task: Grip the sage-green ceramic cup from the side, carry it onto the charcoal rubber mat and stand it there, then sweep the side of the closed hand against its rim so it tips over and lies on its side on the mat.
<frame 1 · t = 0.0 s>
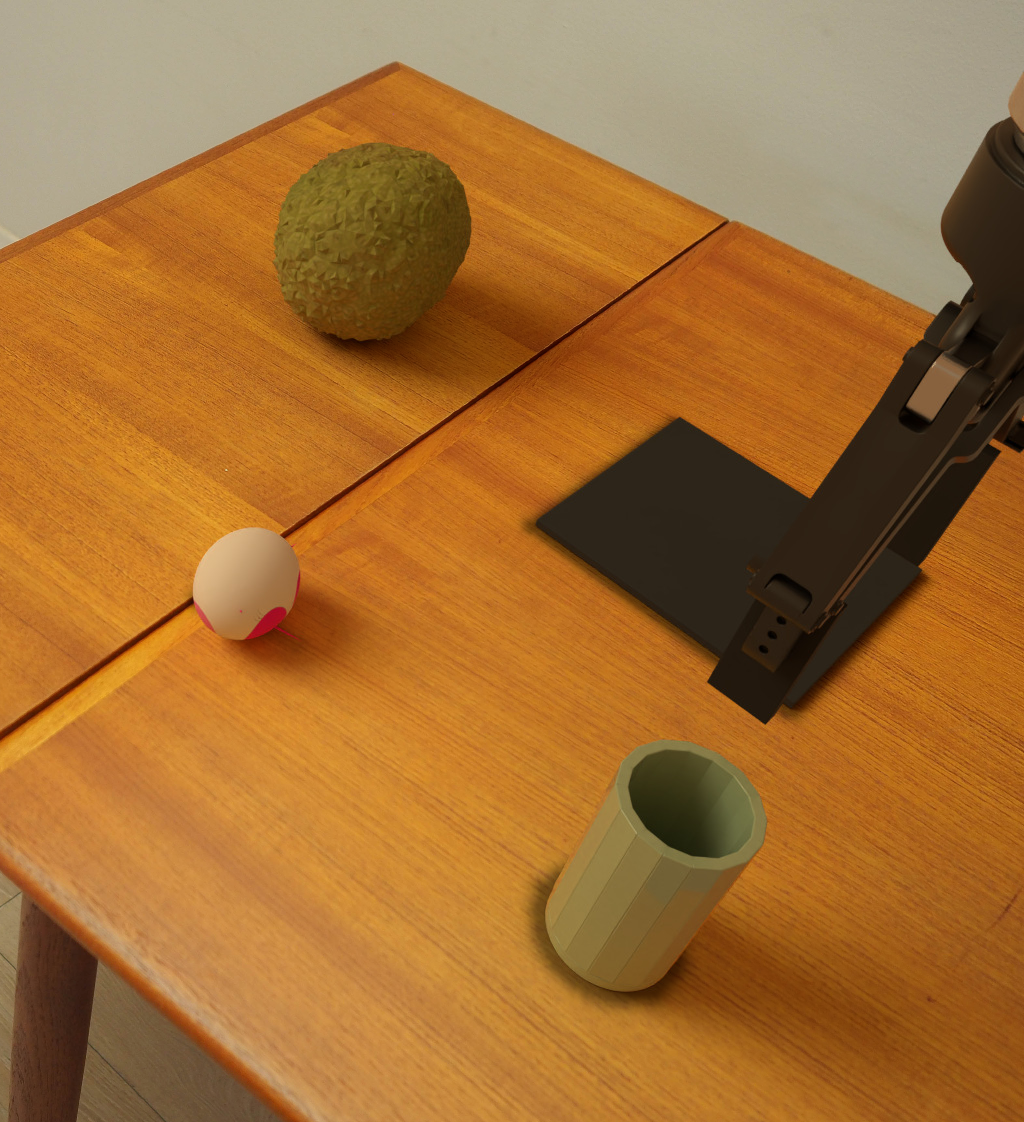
hand: (822, 617, 54), 21 cm above the table, tool pointing down, fingers open, 13 cm apart
mat: (728, 550, 87), on the table
cup: (609, 929, 66), on the table
fruit: (357, 314, 101), on the table
stress ball: (250, 621, 78), on the table
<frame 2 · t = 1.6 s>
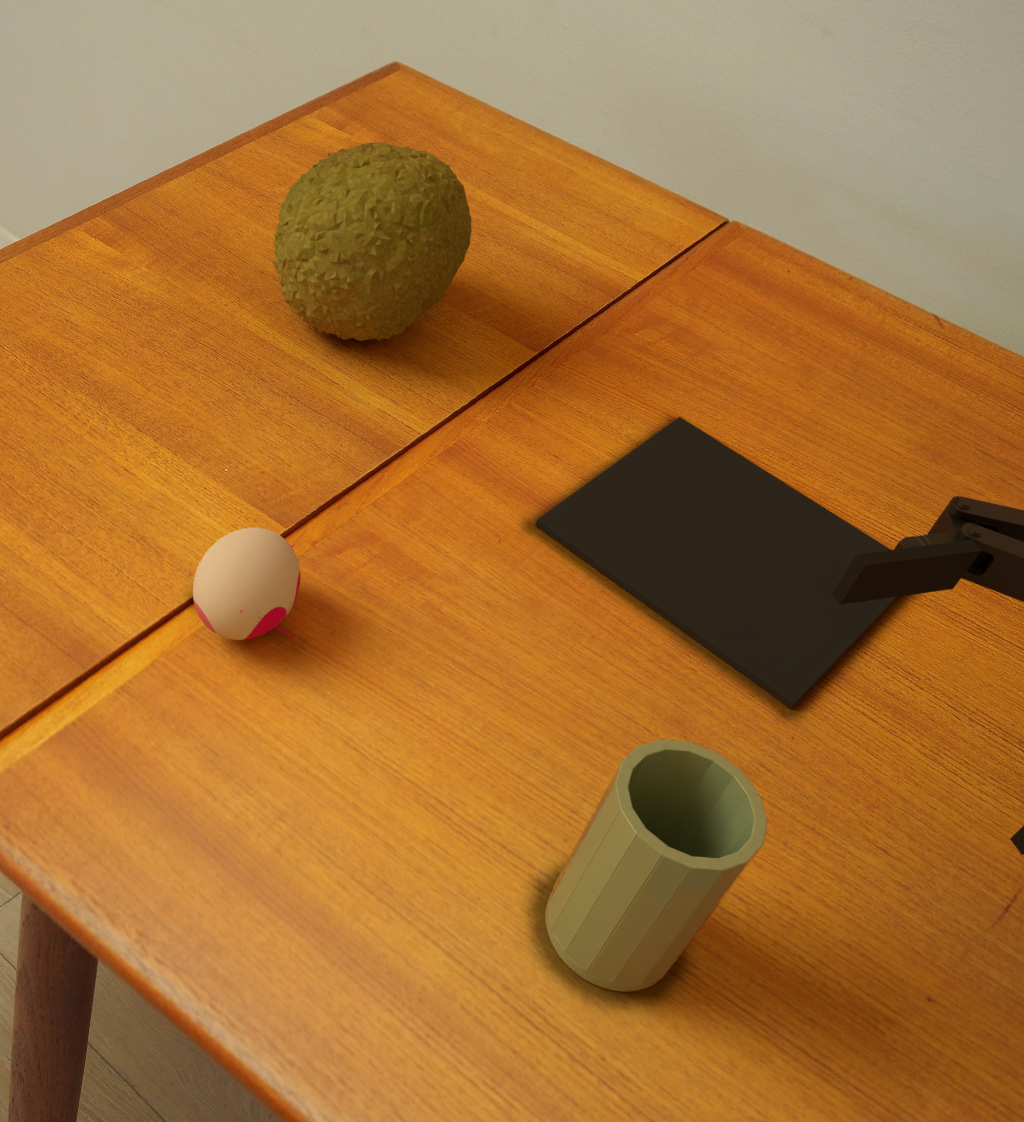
hand: (932, 694, 55), 18 cm above the table, tool horizontal, fingers open, 13 cm apart
nothing on the table moved.
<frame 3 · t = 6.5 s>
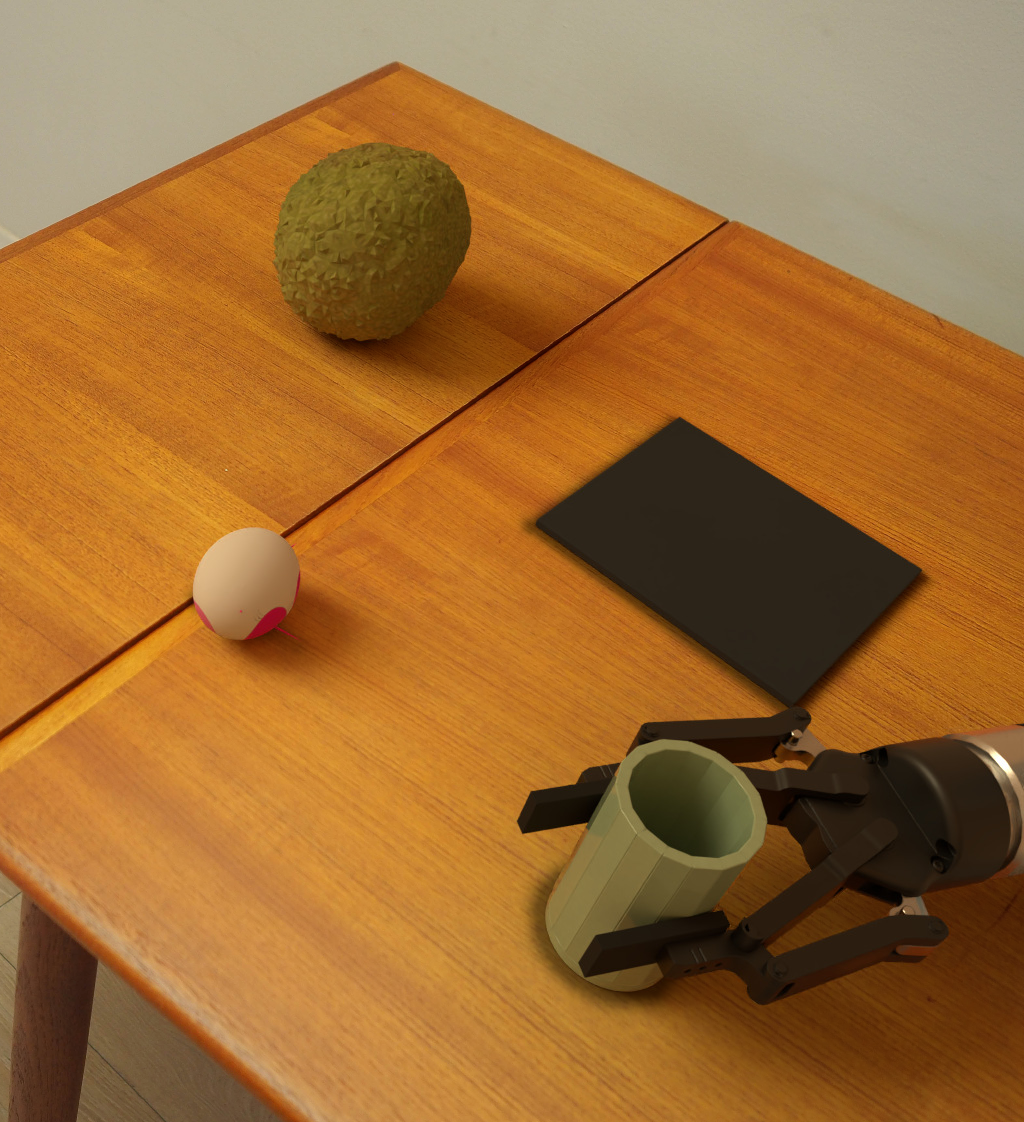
hand: (557, 881, 60), 7 cm above the table, tool horizontal, fingers closed on cup, 7 cm apart
cup: (609, 929, 66), on the table, touching gripper
everything else where it was.
when the fingers open (7 cm above the table, at t = 16.1 s): cup stays where it is, resting on mat.
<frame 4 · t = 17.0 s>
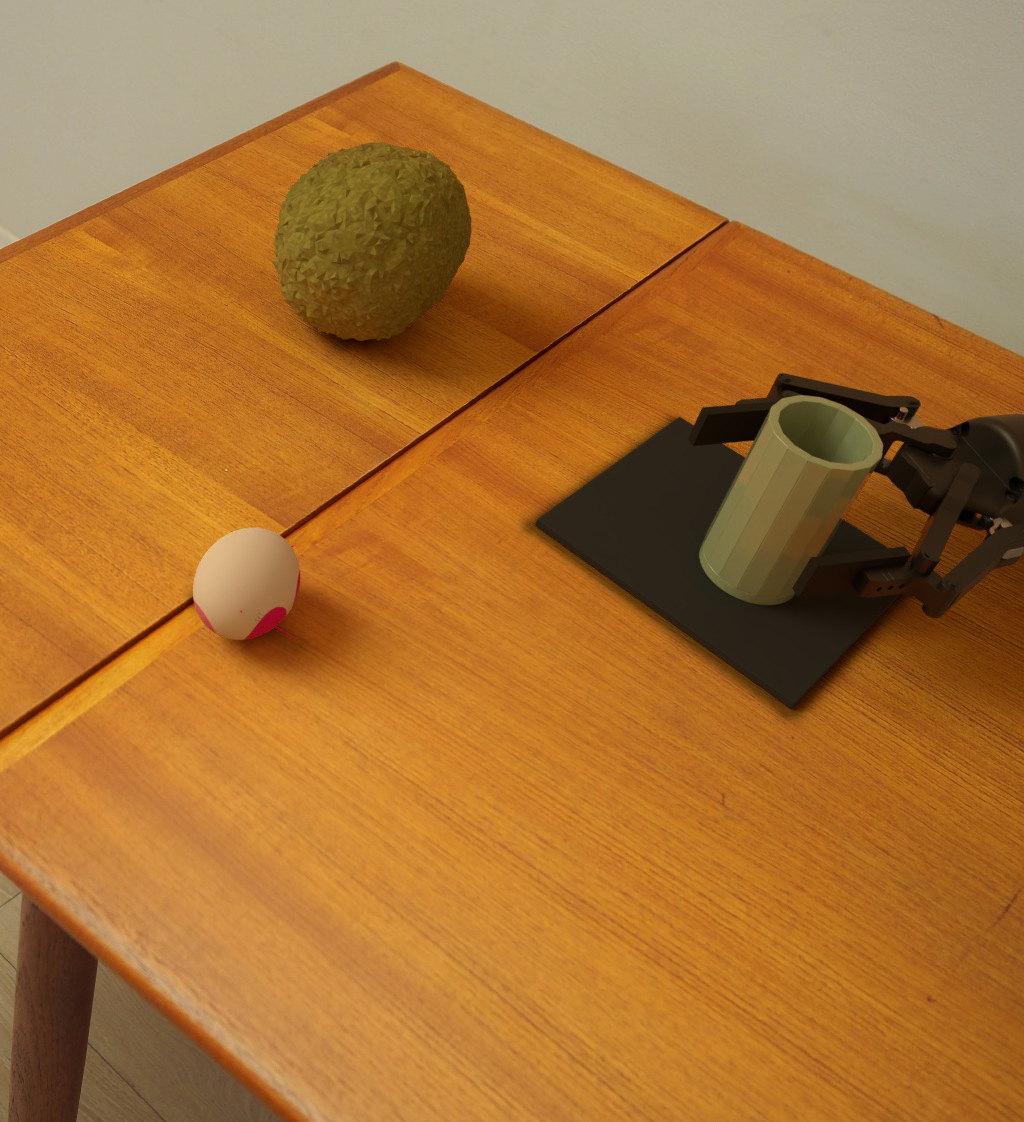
hand: (747, 498, 79), 8 cm above the table, tool horizontal, fingers open, 13 cm apart
cup: (749, 567, 85), point 1 cm above the table, touching mat
everything else where it was.
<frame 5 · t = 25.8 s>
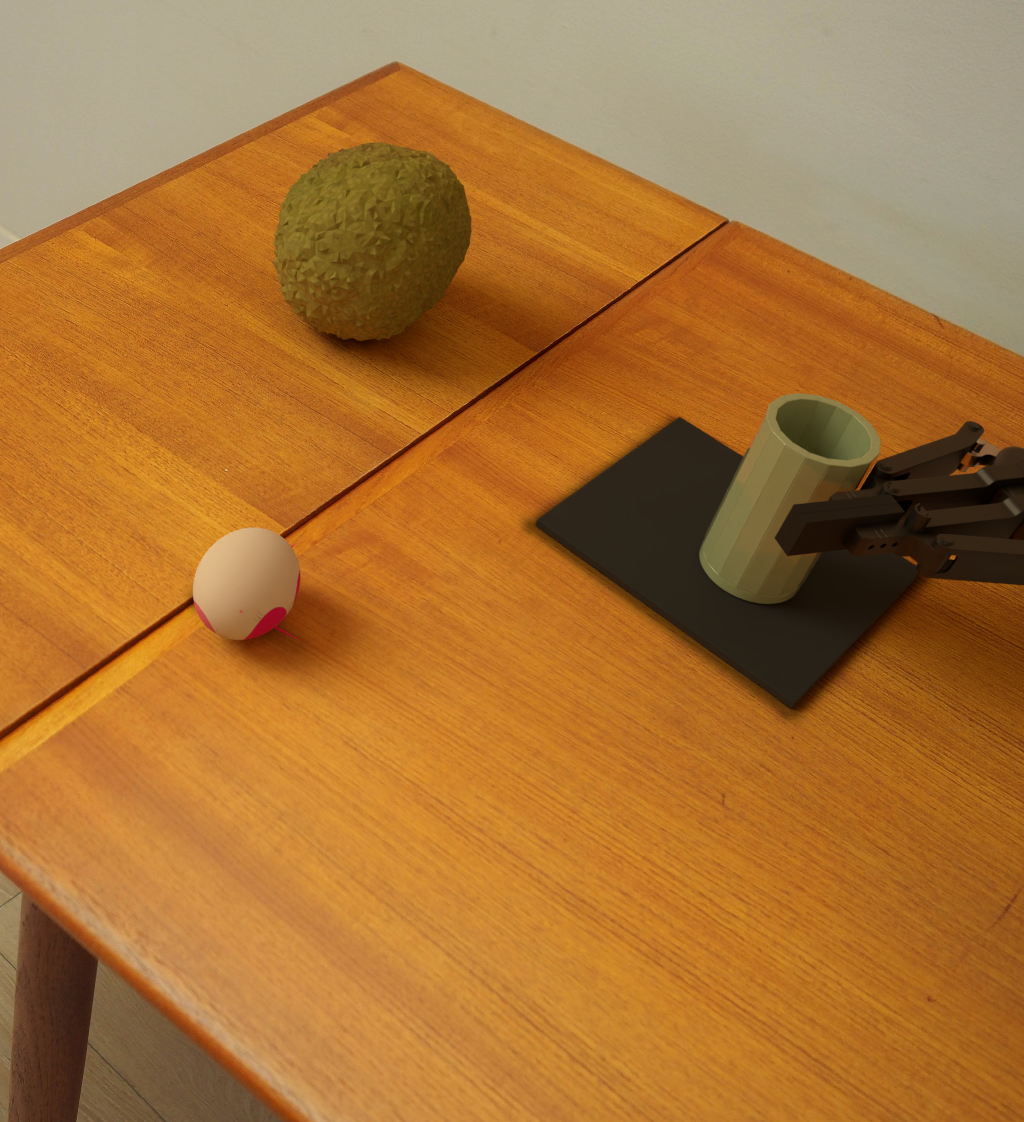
hand: (790, 530, 72), 11 cm above the table, tool horizontal, fingers closed
cup: (749, 566, 85), point 1 cm above the table, touching gripper, mat
everything else where it was.
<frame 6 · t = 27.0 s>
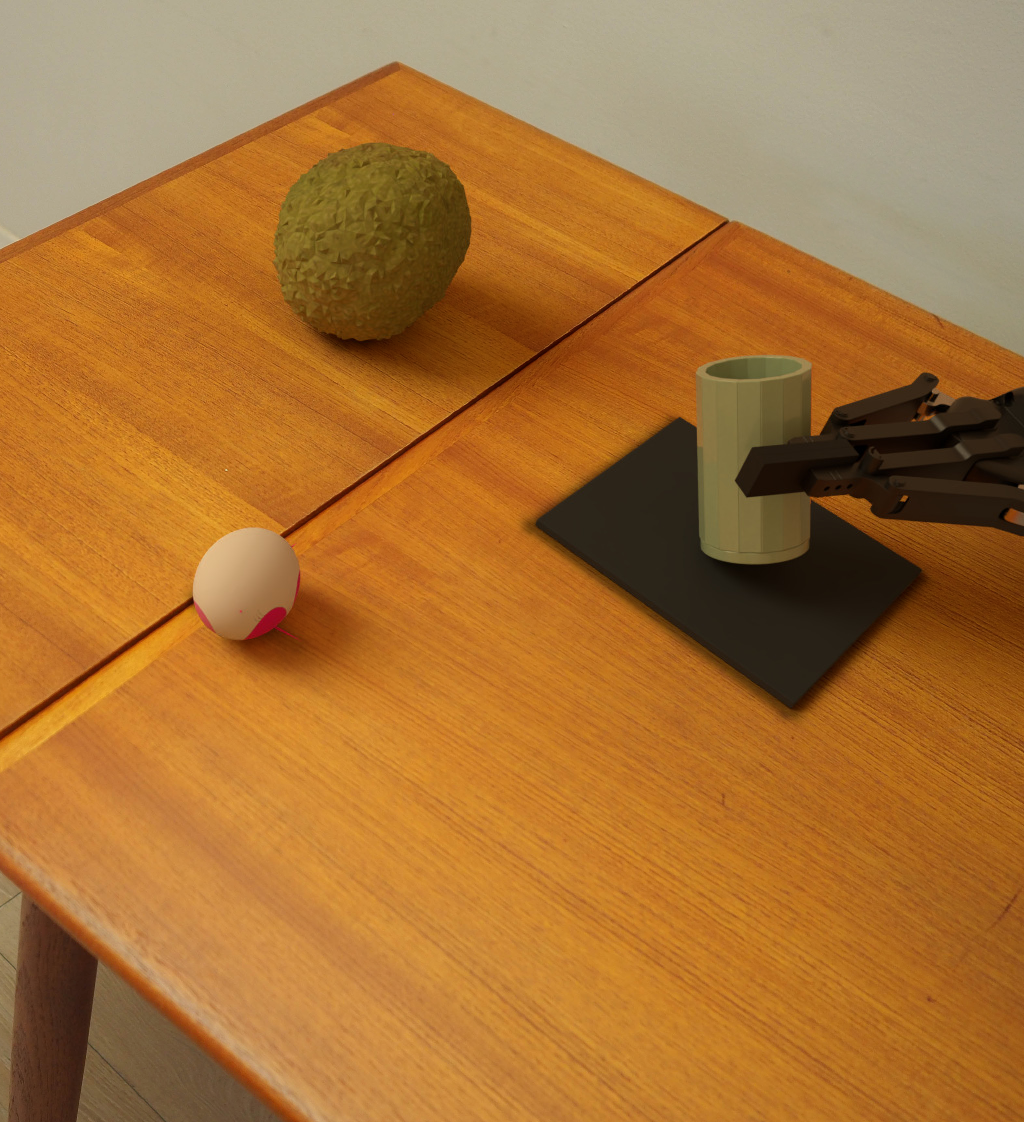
hand: (749, 472, 75), 11 cm above the table, tool horizontal, fingers closed
cup: (754, 545, 84), point 2 cm above the table, tilted 30°, touching mat
everything else where it was.
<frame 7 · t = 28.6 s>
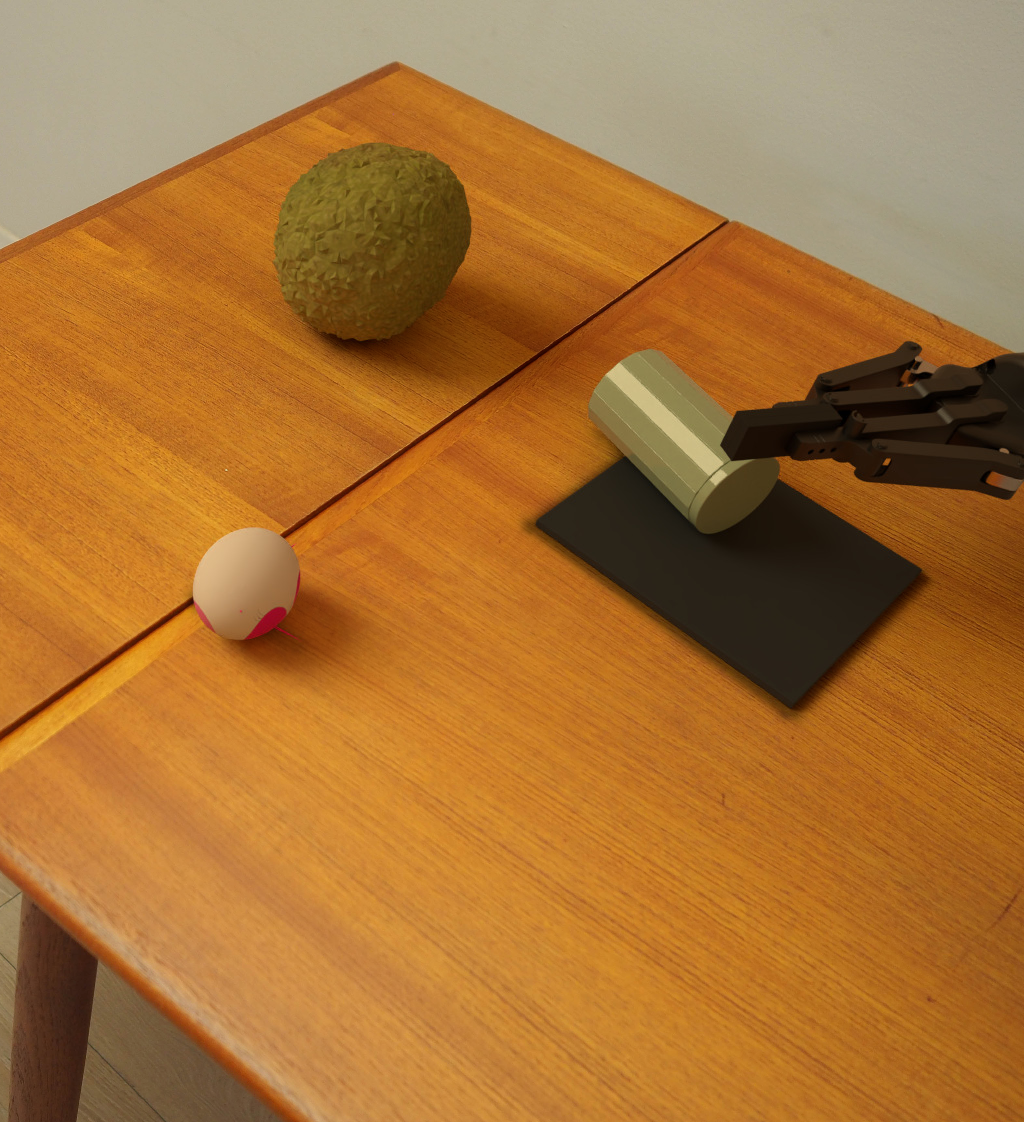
hand: (734, 436, 76), 12 cm above the table, tool horizontal, fingers closed
cup: (738, 496, 85), point 4 cm above the table, tilted 90°, touching mat
everything else where it was.
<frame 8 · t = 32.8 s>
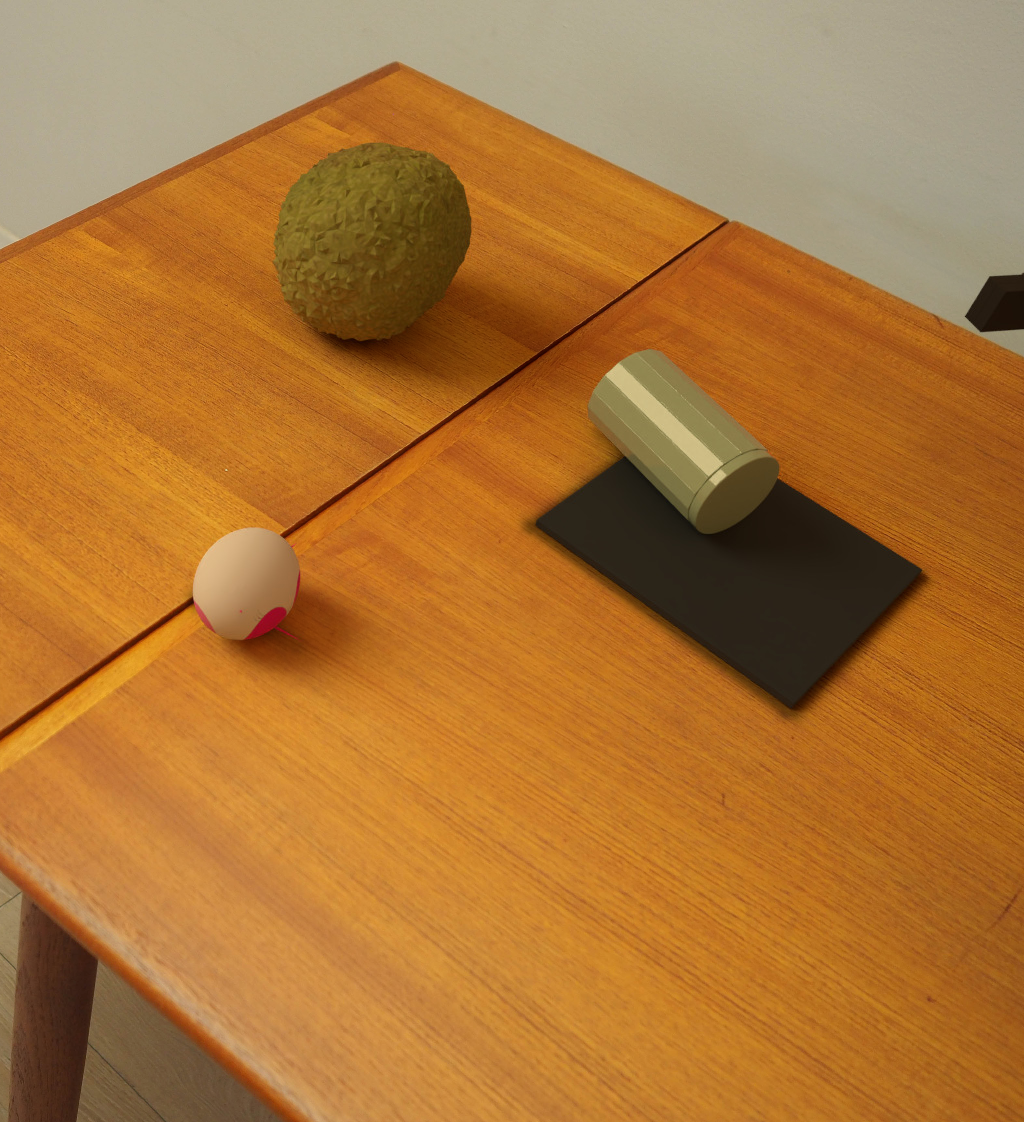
hand: (985, 304, 70), 22 cm above the table, tool horizontal, fingers closed
nothing on the table moved.
at the end: cup tilted 90°; cup inside the target area on the mat (1.2 cm from its centre), point 4.0 cm above the mat's base; the gripper is holding nothing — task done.
